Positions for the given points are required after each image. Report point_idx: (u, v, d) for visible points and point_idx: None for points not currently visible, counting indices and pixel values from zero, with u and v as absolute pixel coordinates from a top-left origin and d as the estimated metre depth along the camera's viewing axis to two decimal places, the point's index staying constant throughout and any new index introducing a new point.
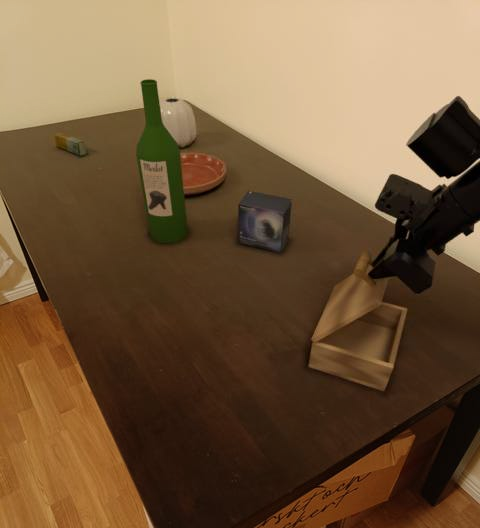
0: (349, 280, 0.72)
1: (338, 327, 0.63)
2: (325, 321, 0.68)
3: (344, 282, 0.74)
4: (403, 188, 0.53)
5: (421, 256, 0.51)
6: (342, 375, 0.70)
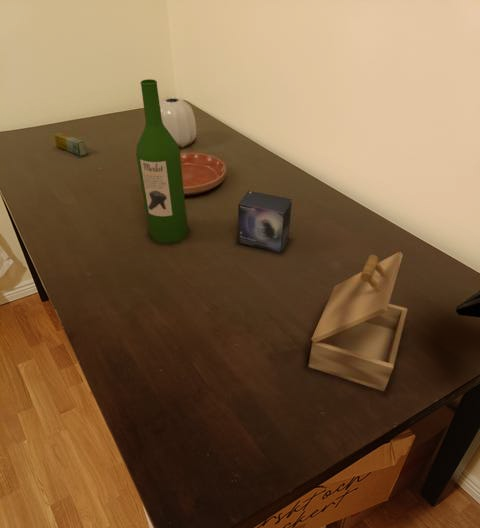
0: (351, 282, 0.73)
1: (340, 329, 0.63)
2: (326, 321, 0.68)
3: (345, 283, 0.74)
4: None
5: None
6: (342, 375, 0.70)
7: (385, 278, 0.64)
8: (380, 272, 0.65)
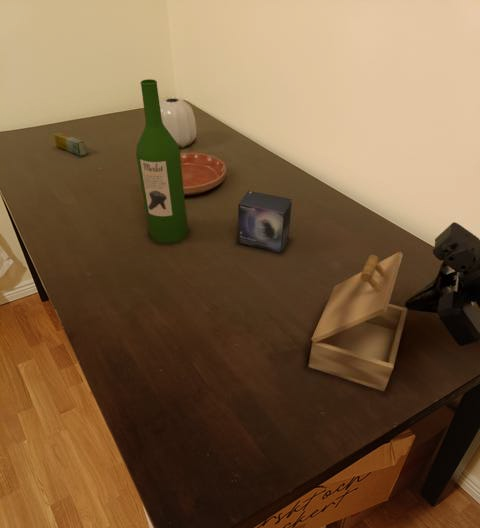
0: (351, 282, 0.73)
1: (340, 329, 0.63)
2: (326, 321, 0.68)
3: (345, 283, 0.74)
4: (465, 241, 0.54)
5: (472, 312, 0.53)
6: (342, 375, 0.70)
7: (385, 278, 0.64)
8: (380, 272, 0.65)
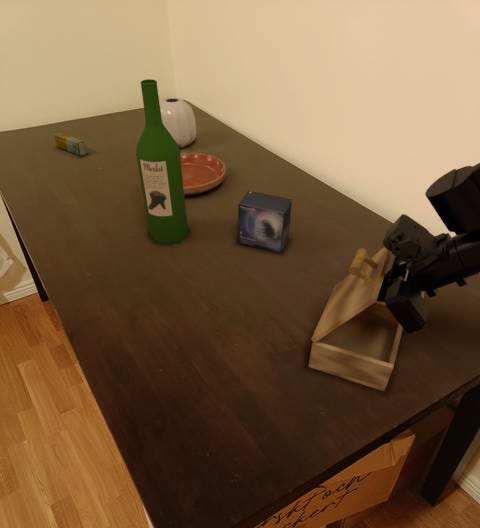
0: (348, 279, 0.72)
1: (336, 325, 0.63)
2: (325, 320, 0.68)
3: (343, 281, 0.74)
4: (412, 232, 0.56)
5: (418, 300, 0.55)
6: (342, 375, 0.70)
7: (376, 269, 0.64)
8: (371, 264, 0.65)
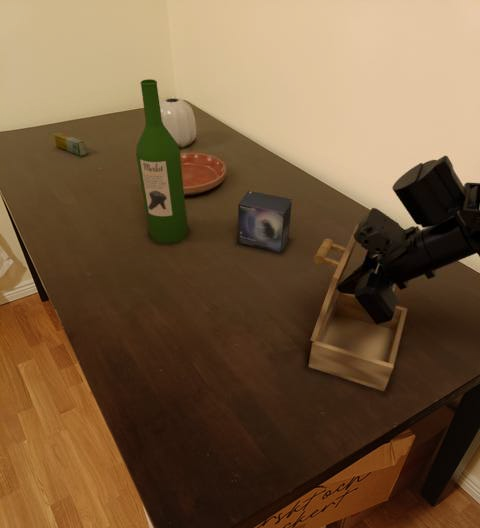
0: None
1: (322, 317, 0.63)
2: None
3: None
4: (381, 225, 0.57)
5: (387, 292, 0.56)
6: (342, 375, 0.70)
7: None
8: (340, 250, 0.65)
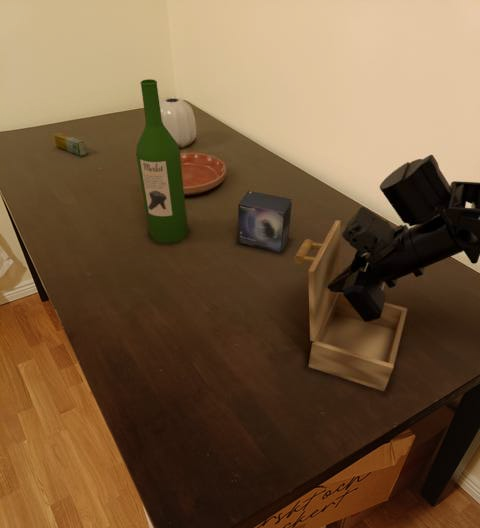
0: None
1: (312, 314, 0.64)
2: None
3: None
4: (370, 224, 0.58)
5: (375, 290, 0.57)
6: (342, 375, 0.70)
7: None
8: (320, 247, 0.66)
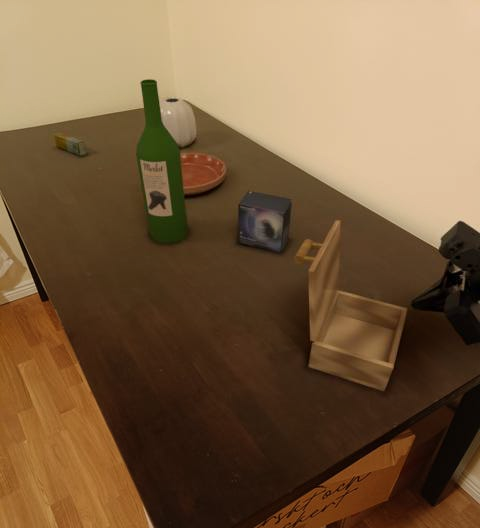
0: None
1: (312, 314, 0.64)
2: None
3: None
4: (471, 239, 0.54)
5: (479, 311, 0.53)
6: (342, 375, 0.70)
7: None
8: (320, 247, 0.66)
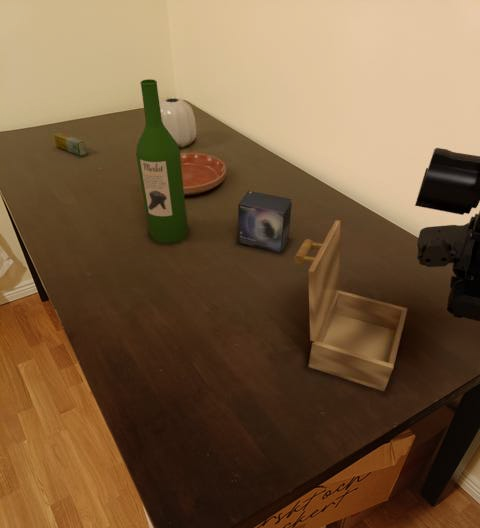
0: None
1: (312, 314, 0.64)
2: None
3: None
4: (436, 237, 0.55)
5: None
6: (342, 375, 0.70)
7: None
8: (320, 247, 0.66)
